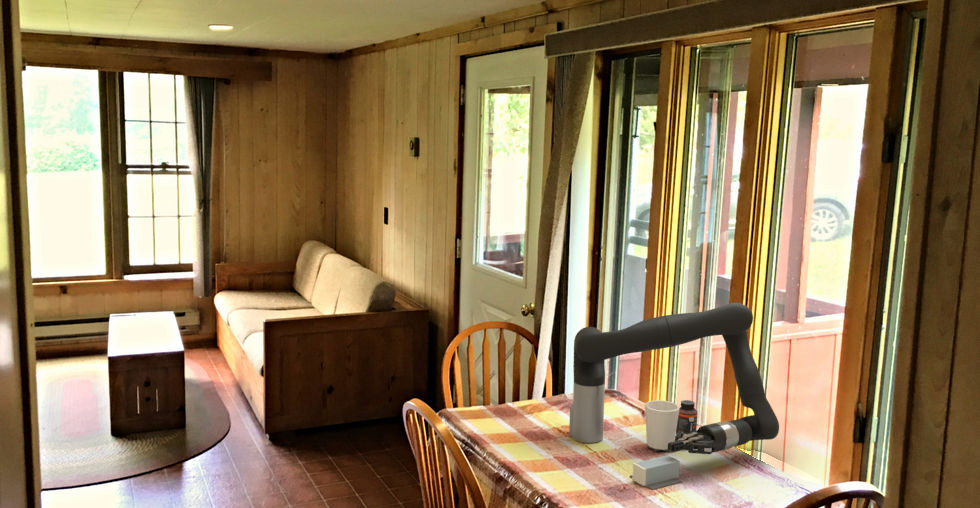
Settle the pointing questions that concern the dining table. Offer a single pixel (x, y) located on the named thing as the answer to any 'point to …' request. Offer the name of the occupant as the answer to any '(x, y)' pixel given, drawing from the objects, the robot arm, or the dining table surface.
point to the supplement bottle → (687, 417)
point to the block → (655, 470)
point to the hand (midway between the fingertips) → (669, 447)
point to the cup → (661, 423)
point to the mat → (662, 483)
